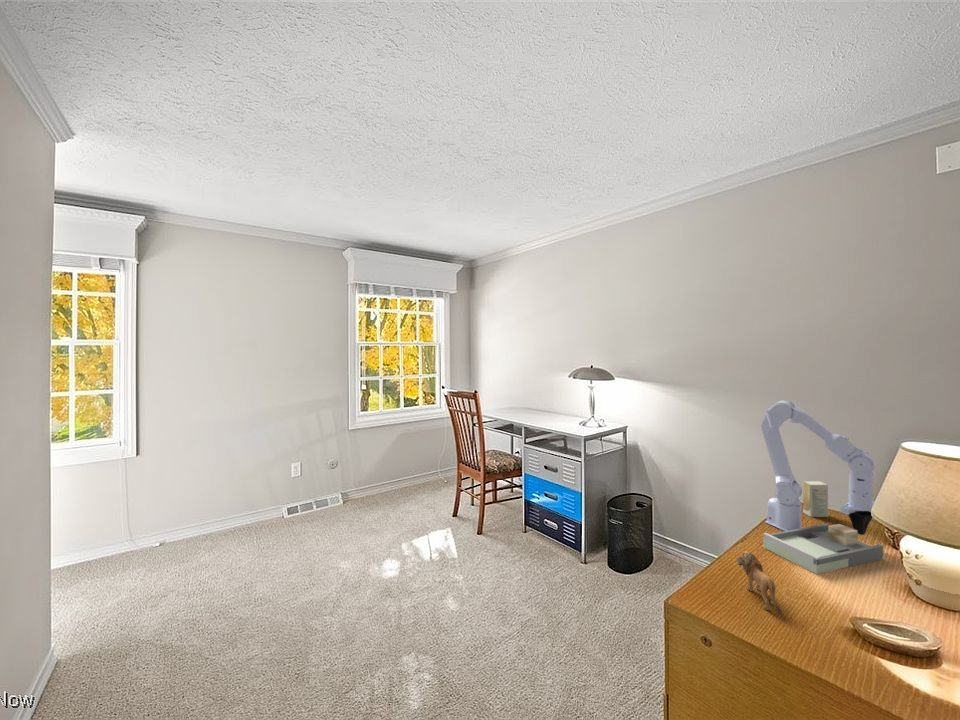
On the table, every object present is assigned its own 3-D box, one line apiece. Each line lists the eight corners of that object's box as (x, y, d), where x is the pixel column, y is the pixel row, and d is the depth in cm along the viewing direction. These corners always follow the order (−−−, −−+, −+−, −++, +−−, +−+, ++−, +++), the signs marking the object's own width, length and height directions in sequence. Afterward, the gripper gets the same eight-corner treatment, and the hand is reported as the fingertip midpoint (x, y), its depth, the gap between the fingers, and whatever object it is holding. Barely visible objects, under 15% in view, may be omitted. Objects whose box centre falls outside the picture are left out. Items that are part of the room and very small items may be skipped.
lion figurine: (732, 580, 115) (732, 548, 114) (751, 580, 115) (752, 548, 114) (771, 616, 100) (772, 579, 99) (793, 615, 100) (794, 578, 100)
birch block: (827, 538, 133) (828, 526, 133) (839, 536, 134) (839, 523, 134) (845, 545, 128) (846, 532, 128) (857, 543, 130) (857, 530, 130)
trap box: (763, 547, 133) (763, 533, 133) (825, 535, 140) (825, 522, 140) (816, 574, 117) (816, 558, 117) (882, 559, 125) (883, 544, 125)
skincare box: (820, 512, 159) (820, 480, 158) (828, 517, 154) (829, 484, 154) (801, 512, 159) (802, 480, 159) (809, 517, 155) (810, 484, 154)
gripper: (859, 498, 127) (857, 542, 128) (891, 492, 131) (890, 535, 132) (833, 490, 134) (832, 532, 134) (865, 485, 138) (864, 526, 138)
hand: (859, 533), depth 133 cm, fingers closed
